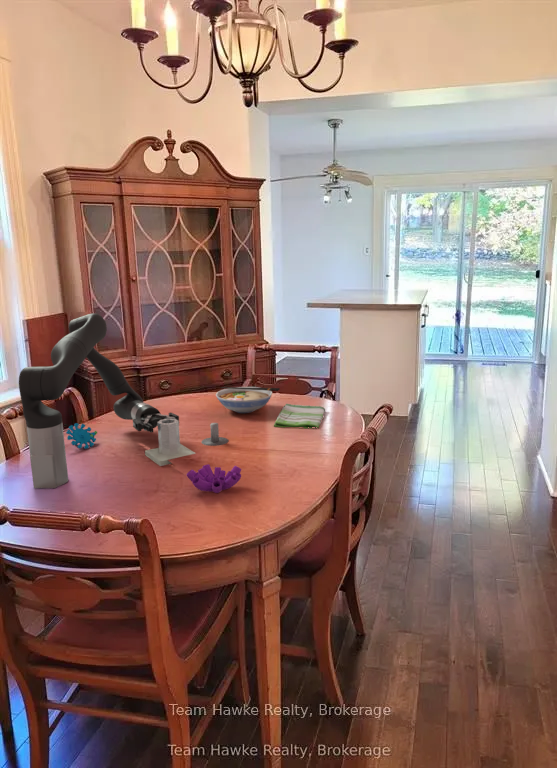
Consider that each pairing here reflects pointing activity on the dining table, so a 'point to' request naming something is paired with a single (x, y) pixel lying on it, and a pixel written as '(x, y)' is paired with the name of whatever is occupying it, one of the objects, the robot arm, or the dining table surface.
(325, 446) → the dining table surface
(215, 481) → the pipe connector assembly
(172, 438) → the sleeve
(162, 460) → the plate with upright peg
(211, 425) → the stand
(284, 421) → the dish towel
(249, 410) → the ramen bowl
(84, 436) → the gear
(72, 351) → the robot arm
